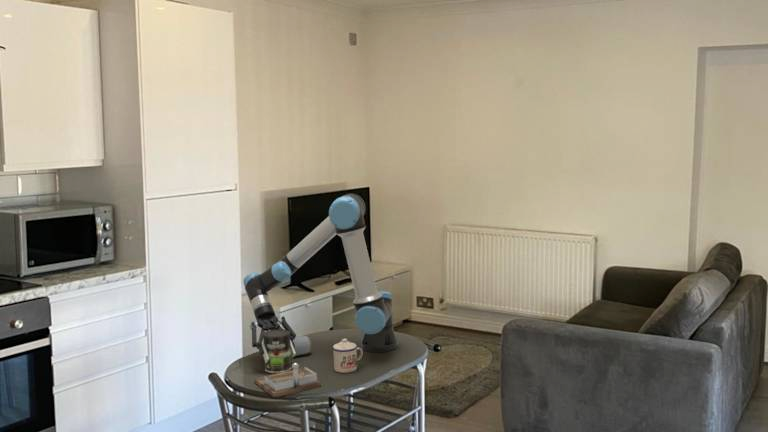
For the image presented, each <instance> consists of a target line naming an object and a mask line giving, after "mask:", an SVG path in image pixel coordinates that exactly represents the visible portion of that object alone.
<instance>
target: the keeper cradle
mask: <svg viewBox="0 0 768 432" xmlns="http://www.w3.org/2000/svg"><path fill="white" fill-rule="evenodd" d="M291 365H292V370H293V378H292V379H288V380H283V381H279V382H275V381H274V380H273V379H271V378H270V377H269V375H264V376H265V385H267V386H268V387H269V388H271V389H272V390H273V391H275V392H277V391H281V390H285V389H290V388H298V387H299V386H303V385H307V384H311V383H316V382H317V380H318V374H317V373H316V372H315V371H313V370H312V369H309V368H308V367H306V366H305V367H303V371H304V376H301V377H299V376H298V369H300V367H299V366H300V364H299V363H297V362H293V363H291Z"/></svg>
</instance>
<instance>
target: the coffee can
mask: <svg viewBox="0 0 768 432" xmlns="http://www.w3.org/2000/svg"><path fill="white" fill-rule="evenodd" d="M262 341H263V344H264V346H265V348H266V351H267V354H268V357H269V361H268V363H266V362H265V361H264V371H265V372H267V373H270V374H278V373H283V372H287V371H292V370H293V368H292V357H291V345H290V331H288V330H285V329H284V330H280V329H279V330H269V331H265V332H264V333H263V340H262Z"/></svg>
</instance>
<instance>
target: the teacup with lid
mask: <svg viewBox="0 0 768 432" xmlns="http://www.w3.org/2000/svg"><path fill="white" fill-rule="evenodd" d="M332 350H333V366H334V367H333V369H334V371H335V372H337V373H342V374H344V373H345V374H347V373H352V372H355V371H356V370H357V369H358V361H360V360H361V359H362V357H363V354H364V353H363V351H364V350H363V349H362V348H361V347H358V346H357V344H356V343H354V342H351V341H349V340H348V339H347V338H342V339H341V340H340V341H339V342H338V343H335V344H334V345H333V347H332ZM358 351H359V355H358V354H357V353H358Z"/></svg>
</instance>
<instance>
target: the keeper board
mask: <svg viewBox="0 0 768 432" xmlns="http://www.w3.org/2000/svg"><path fill="white" fill-rule="evenodd" d="M265 376H266V375H264V376H261V377H256V378H254V384H255V385H257V384H258V385H259V386H258V385H257V386H258V387H260V388H261V389H262V388H263V389H264V390H263V389H262V390H263V391H264V392H266V393H267V394H269V395H270V396H271V397H273V398H277V397H281V396H285V395H286V396H287V395H291V394H294V393H299V392H303V391H307V390H311V389H316V388H320V387H322V382H321V381H319V379H317V382H316V383H311V384H307V385H303V386H299V387H298V388H290V389H285V390H281V391H277V392H275V391H273V390H272V389H271V388H269V387H268V386H267V385H265ZM268 376H269V377H270V378H271V379H273V380H274V381H275V382H279V381H283V380H288V379H292V378H293V369H291V370H289V371H287V372H283V373H273V374H269V375H268ZM298 376H299V377H301V376H304V369H301V368H298Z"/></svg>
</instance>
